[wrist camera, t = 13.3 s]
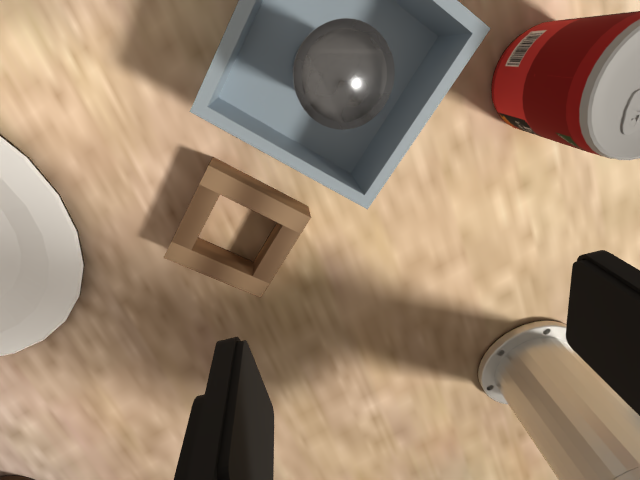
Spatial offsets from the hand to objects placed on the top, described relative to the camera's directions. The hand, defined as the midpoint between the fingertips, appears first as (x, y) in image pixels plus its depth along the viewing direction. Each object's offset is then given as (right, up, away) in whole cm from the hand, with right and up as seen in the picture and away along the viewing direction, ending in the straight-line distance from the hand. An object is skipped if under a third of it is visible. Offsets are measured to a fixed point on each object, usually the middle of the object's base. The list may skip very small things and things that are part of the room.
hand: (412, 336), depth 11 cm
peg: (-3, +15, +17) cm, 23 cm away
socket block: (-10, +4, +23) cm, 25 cm away
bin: (-2, +16, +18) cm, 24 cm away
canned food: (+15, +16, +20) cm, 30 cm away
